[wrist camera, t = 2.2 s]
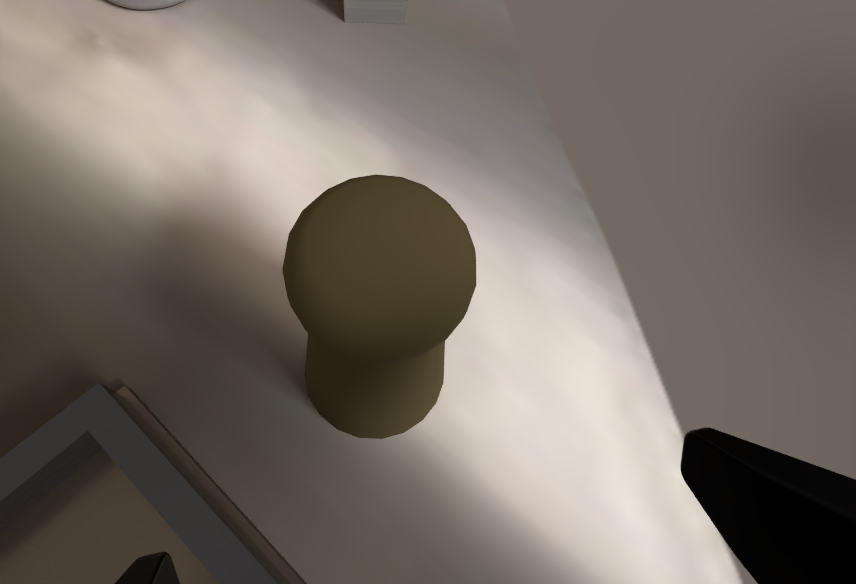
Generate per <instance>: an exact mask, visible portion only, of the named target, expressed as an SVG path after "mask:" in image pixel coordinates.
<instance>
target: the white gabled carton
mask: <svg viewBox="0 0 856 584" xmlns="http://www.w3.org/2000/svg"><path fill="white" fill-rule="evenodd" d="M405 10H406V0H344V18H345V22H347V23H377V24H405Z"/></svg>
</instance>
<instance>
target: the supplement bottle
mask: <svg viewBox="0 0 856 584" xmlns="http://www.w3.org/2000/svg"><path fill="white" fill-rule="evenodd" d="M108 1H110V2H112V3H114V4H116V5H119V6H122V7H126V8H130V9H138V10H149V9H160V8H165V7H169V6H173V5H176V4H178V3H180V2H182V1H184V0H108Z"/></svg>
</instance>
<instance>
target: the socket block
mask: <svg viewBox="0 0 856 584" xmlns="http://www.w3.org/2000/svg"><path fill="white" fill-rule="evenodd" d="M158 552H167V553H169V555H170V556H171V558H172V561H173V564H174V567H175V570H176V573H177V576H178V579H179V582H180V584H307V583H306V582H305V581H304V580H303V579H302V578H301V577H300V576H299V575H298V573H297V572H296V571H295V570H294V569H293V568H292V567H291V566H290V565H289V563H288V562H287V561H286V560H285V559H284V558H283V557H282V556H281V555H280V554H279V552H278V551H277V550H276V549H275V548H274V547H273V546H272V545H271V544H270V542H269V541H268V540H267V539H266V538H265V537H264V536H263V535H262V534H261V533H260V531H259V530H258V529H257V528H256V527H255V526H254V525H253V524H252V523H251V521H250V520H249V519H248V518H247V517H246V516H245V515H244V514H243V513H242V511H241V510H240V509H239V508H238V507H237V506H236V505H235V504H234V503H233V502H232V500H231V499H230V498H229V497H228V496H227V495H226V494H225V493H224V492H223V490H222V489H221V488H220V487H219V486H218V485H217V484H216V483H215V482H214V481H213V479H212V478H211V477H210V476H209V475H208V474H207V473H206V472H205V471H204V469H203V468H202V467H201V466H200V465H199V464H198V463H197V462H196V461H195V460H194V458H193V457H192V456H191V455H190V454H189V453H188V452H187V451H186V450H185V448H184V447H183V446H182V445H181V444H180V443H179V442H178V441H177V440H176V438H175V437H174V436H173V435H172V434H171V433H170V432H169V431H168V430H167V429H166V427H165V426H164V425H163V424H162V423H161V422H160V421H159V420H158V419H157V417H156V416H155V415H154V414H153V413H152V412H151V411H150V410H149V409H148V408H147V406H146V405H145V404H144V403H143V402H142V401H141V400H140V399H139V398H138V396H137V395H136V394H135V393H134V392H133V391H132V390H131V389H130V388H128V387H127V386H125V385H124V386H123V387H122V388H121V389H119V390H118V391H117V392H115V391H113V390H111V389H110V388H108V387H106V386H104V385H103V384H101V383H99V382H98V383H97V384H96V385H94V386H93V387H92V388H90V389H89V390H88V391H87V392H85V393H84V394H83V395H81V396H80V397H79V398H78V399H76V400H75V401H74V402H72V403H71V404H70V405H68V406H67V407H66V408H65V409H63V410H62V411H61V412H59V413H58V414H57V415H56V416H54V417H53V418H52V419H50V420H49V421H48V422H47V423H45V424H44V425H43V426H41V427H40V428H39V429H38V430H36V431H35V432H34V433H32V434H31V435H30V436H28V437H27V438H26V439H25V440H23V441H22V442H21V443H19V444H18V445H17V446H16V447H14V448H13V449H12V450H10V451H9V452H8V453H7V454H5V455H4V456H3V457H1V458H0V584H114V583H115V582H116V581H117V580H118V579H119V578H120V577H121V576H122V574H123V573H124V572H125V571H126V570H127V569H128V568H129V567H130V565H131V564H132V563H133V562H134V561H135V560H136V559H138V558H139V557H142V556H145V555H150V554H154V553H158Z"/></svg>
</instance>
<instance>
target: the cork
mask: <svg viewBox="0 0 856 584" xmlns="http://www.w3.org/2000/svg"><path fill="white" fill-rule="evenodd" d="M283 275H284V280H285V285H286V291H287V296H288V299H289V302H290V305H291V307H292V309H293V310H294V312H295V314H296V315H297V317H298V319H299V320H300V322H301V323H302V325H303V327H304V328H305V330H306V331H307V332H308V342H307V354H306V365H305V378H306V383H307V389H308V394H309V397H310V398H311V400H312V402H313V403H314V405H315V407H316V409H317V410H318V412H319V414H320V415H321V416H322V417H323V418H325V419H326V420H327V421H328V422H329V423H331V424H332V425H333V426H334V427H335V428H336V429H338V430H341V431H343V432H346V433H348V434H351V435H353V436H356V437H358V438H377V439H383V438H386V437H390V436H393V435H397V434H401V433H404V432H406V431H407V430H409V429H410V428H412V427H413V426H415V425H416V424H418V423H419V422H421V421H422V420H423V419H424V418H425V416H426V415H427V414H428V413H429V411H430V410H431V409H432V407H433V406H434V405H435V404H436V402H437V399H438V396H439V393H440V390H441V388H442V385H443V376H444V349H445V340H446V339H447V338H448V337H449V335H450V334H451V333H452V332H453V330H454V329H455V328H456V327H457V326H458V324H459V323H460V322H461V321H462V319H463V318H464V316H465V314H466V312H467V309H468V307H469V304H470V301H471V298H472V295H473V293H474V290H475V287H476V254H475V248H474V245H473V242H472V239H471V237H470V234H469V231H468V229H467V226H466V224H465V223H464V222H463V220H462V219H461V218H460V217H459V215H458V214H457V213H456V212H455V210H454V209H453V208H452V207H451V205H450V204H449V203H448V202H447V201H446V200H445V199H443V198H442V197H440V196H439V195H438V194H436V193H435V192H433V191H432V190H430V189H429V188H428V187H426V186H425V185H422V184H419V183H416V182H414V181H411V180H408V179H405V178H402V177H395V176H385V175H371V176H365V177H358V178H352V179H349V180H347V181H345V182H343V183H340V184H338V185H336V186H334V187H332V188H329V189H327V190H326V191H325V192H323V193H322V194H321V195H320V196H319V197H318V198H316V199H315V200H314V201H313V202H312V203H311V204H310V205H308V206H307V207H306V208H305V209H304V210H303V211H302V212H301V214H300V216H299V218H298V219H297V221H296V223H295V225H294V226H293V228H292V230H291V231H290V233H289V237H288V242H287V247H286V253H285V259H284V264H283Z"/></svg>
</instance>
